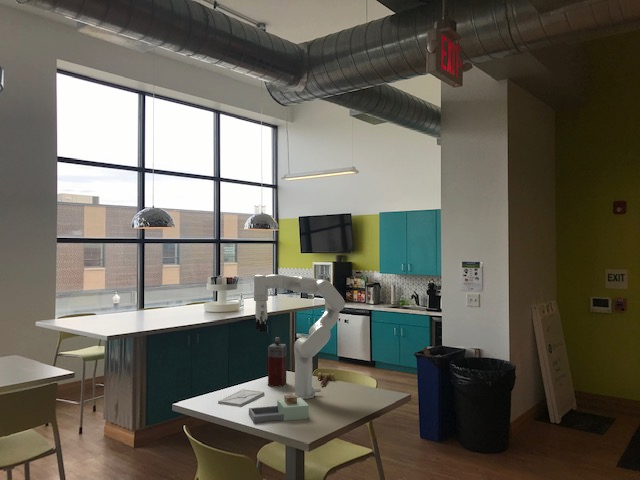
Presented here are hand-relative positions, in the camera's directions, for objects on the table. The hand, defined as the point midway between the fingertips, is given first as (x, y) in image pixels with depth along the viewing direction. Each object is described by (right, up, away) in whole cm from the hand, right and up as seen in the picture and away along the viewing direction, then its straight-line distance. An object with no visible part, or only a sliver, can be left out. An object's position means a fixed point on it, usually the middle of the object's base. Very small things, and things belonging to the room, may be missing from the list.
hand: (260, 330), depth 276 cm
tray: (+6, -36, -32) cm, 48 cm away
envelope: (-10, -38, 0) cm, 39 cm away
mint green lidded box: (+19, -36, -28) cm, 49 cm away
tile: (+18, -30, -28) cm, 45 cm away
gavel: (+34, -39, +36) cm, 63 cm away
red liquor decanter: (+5, -38, +32) cm, 50 cm away
